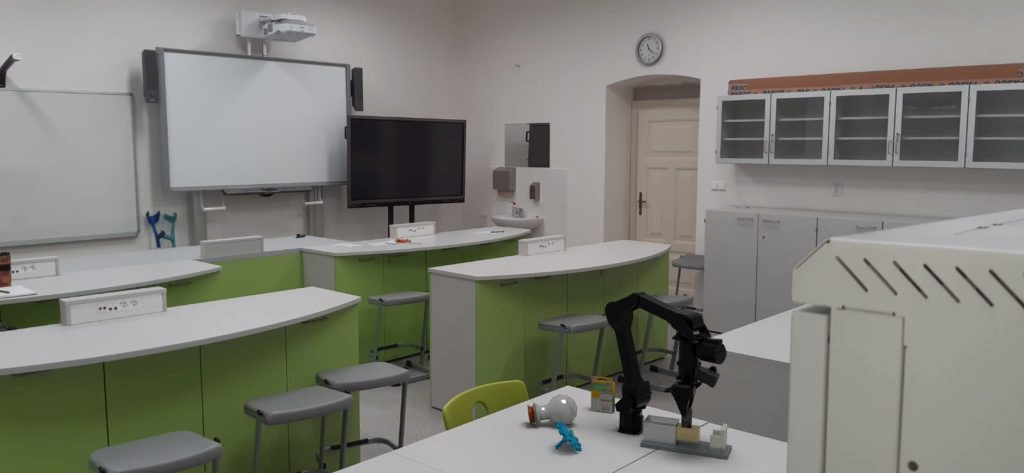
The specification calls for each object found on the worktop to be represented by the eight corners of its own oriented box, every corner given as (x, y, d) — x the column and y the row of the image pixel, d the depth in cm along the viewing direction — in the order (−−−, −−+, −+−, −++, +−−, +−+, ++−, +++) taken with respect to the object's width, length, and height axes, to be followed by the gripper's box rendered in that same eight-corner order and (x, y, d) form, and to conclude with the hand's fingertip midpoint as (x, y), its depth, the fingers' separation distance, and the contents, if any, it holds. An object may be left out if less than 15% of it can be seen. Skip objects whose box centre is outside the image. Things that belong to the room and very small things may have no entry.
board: (640, 446, 224) (640, 443, 224) (647, 436, 232) (647, 433, 232) (727, 459, 215) (727, 456, 215) (731, 448, 223) (731, 445, 223)
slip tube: (647, 435, 226) (648, 405, 225) (650, 431, 229) (651, 402, 228) (697, 442, 220) (698, 412, 219) (699, 438, 223) (700, 408, 223)
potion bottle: (580, 429, 242) (532, 437, 241) (573, 404, 249) (526, 410, 248) (581, 411, 236) (531, 418, 234) (574, 385, 243) (526, 392, 242)
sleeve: (643, 441, 225) (644, 420, 225) (647, 435, 230) (648, 414, 230) (675, 446, 222) (675, 424, 221) (678, 440, 227) (679, 418, 226)
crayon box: (615, 411, 256) (615, 376, 255) (612, 413, 254) (613, 378, 253) (593, 408, 259) (594, 373, 258) (590, 410, 257) (591, 375, 256)
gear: (580, 451, 215) (555, 422, 217) (564, 465, 216) (540, 436, 218) (586, 443, 226) (563, 416, 228) (571, 456, 227) (548, 429, 229)
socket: (709, 451, 218) (710, 428, 217) (712, 444, 223) (713, 422, 223) (723, 453, 216) (724, 430, 216) (726, 446, 222) (727, 424, 221)
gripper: (712, 368, 209) (710, 426, 211) (722, 353, 227) (720, 406, 228) (670, 363, 214) (669, 420, 215) (683, 349, 231) (681, 401, 232)
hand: (686, 411), depth 223 cm, fingers open, 9 cm apart
